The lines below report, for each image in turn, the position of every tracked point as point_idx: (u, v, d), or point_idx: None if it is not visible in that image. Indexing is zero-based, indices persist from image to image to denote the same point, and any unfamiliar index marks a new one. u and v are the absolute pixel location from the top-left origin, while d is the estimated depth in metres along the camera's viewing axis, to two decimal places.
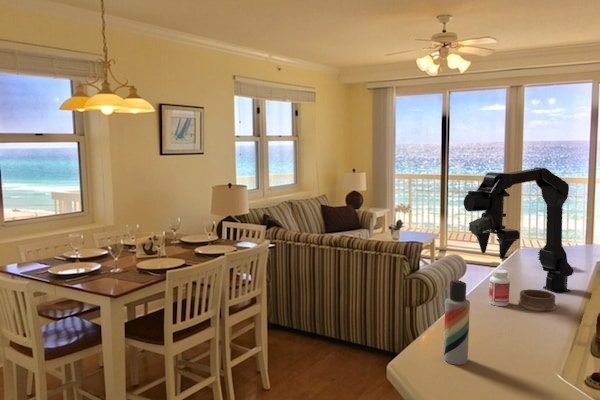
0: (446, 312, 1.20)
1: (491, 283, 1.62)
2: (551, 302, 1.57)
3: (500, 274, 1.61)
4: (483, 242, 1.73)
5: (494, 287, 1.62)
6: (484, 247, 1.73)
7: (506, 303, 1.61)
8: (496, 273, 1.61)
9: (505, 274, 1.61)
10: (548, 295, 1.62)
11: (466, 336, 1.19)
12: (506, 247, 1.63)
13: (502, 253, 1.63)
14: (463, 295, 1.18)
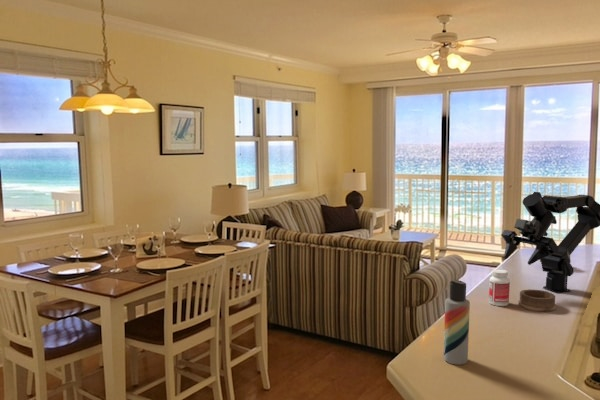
0: (446, 312, 1.20)
1: (491, 283, 1.62)
2: (551, 302, 1.57)
3: (500, 274, 1.61)
4: (510, 249, 1.71)
5: (494, 287, 1.62)
6: (508, 254, 1.71)
7: (506, 303, 1.61)
8: (496, 273, 1.61)
9: (505, 274, 1.61)
10: (548, 295, 1.62)
11: (466, 336, 1.19)
12: (538, 256, 1.63)
13: (533, 258, 1.62)
14: (463, 295, 1.18)
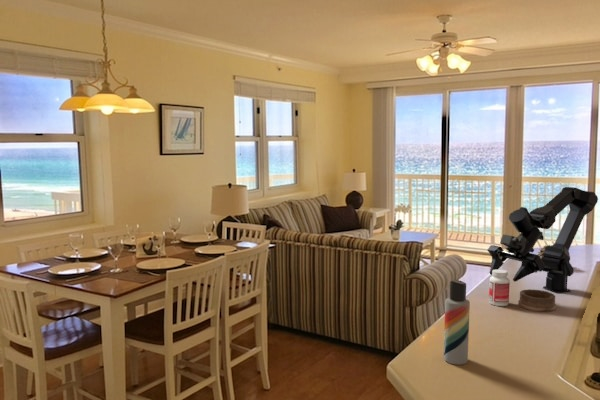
0: (446, 312, 1.20)
1: (491, 283, 1.62)
2: (551, 302, 1.57)
3: (500, 274, 1.61)
4: (496, 265, 1.69)
5: (494, 287, 1.62)
6: None
7: (506, 303, 1.61)
8: (496, 273, 1.61)
9: (505, 274, 1.61)
10: (548, 295, 1.62)
11: (466, 336, 1.19)
12: (524, 273, 1.60)
13: (518, 275, 1.59)
14: (463, 295, 1.18)
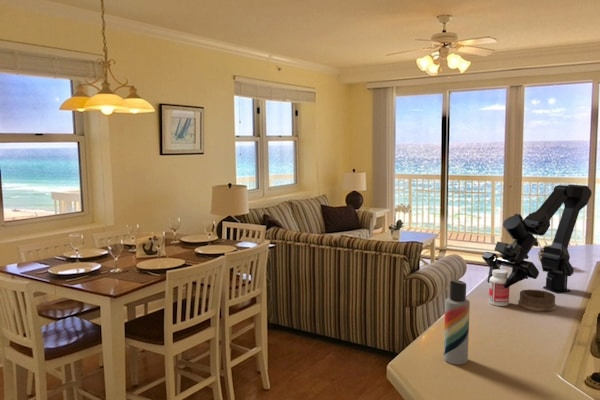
0: (446, 312, 1.20)
1: (491, 283, 1.62)
2: (551, 302, 1.57)
3: (500, 274, 1.61)
4: None
5: (493, 287, 1.62)
6: None
7: (506, 303, 1.61)
8: (496, 273, 1.61)
9: (505, 274, 1.61)
10: (548, 295, 1.62)
11: (466, 336, 1.19)
12: (515, 279, 1.60)
13: (509, 282, 1.59)
14: (463, 295, 1.18)
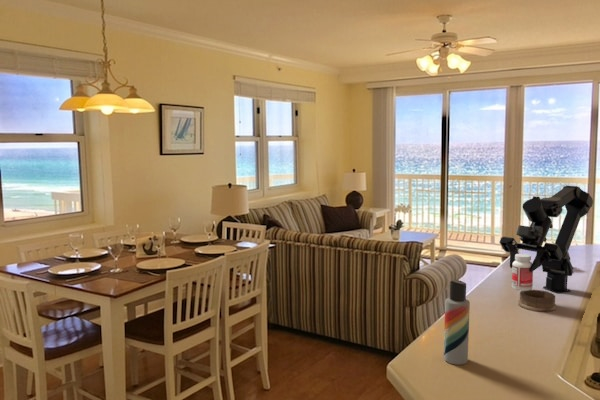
0: (446, 312, 1.20)
1: (516, 268, 1.59)
2: (551, 302, 1.57)
3: (525, 258, 1.58)
4: (514, 258, 1.64)
5: (519, 271, 1.59)
6: None
7: (531, 287, 1.59)
8: (521, 257, 1.58)
9: (529, 258, 1.58)
10: (548, 295, 1.62)
11: (466, 336, 1.19)
12: (539, 262, 1.58)
13: (534, 266, 1.57)
14: (463, 295, 1.18)
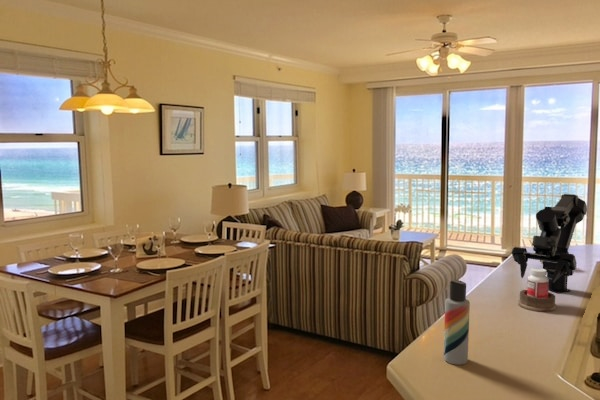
0: (446, 312, 1.20)
1: (533, 283, 1.59)
2: (551, 302, 1.57)
3: (542, 273, 1.58)
4: (524, 267, 1.64)
5: (536, 286, 1.58)
6: (523, 272, 1.63)
7: None
8: (538, 272, 1.58)
9: (546, 272, 1.59)
10: (548, 295, 1.62)
11: (466, 336, 1.19)
12: (559, 273, 1.58)
13: (556, 276, 1.56)
14: (463, 295, 1.18)
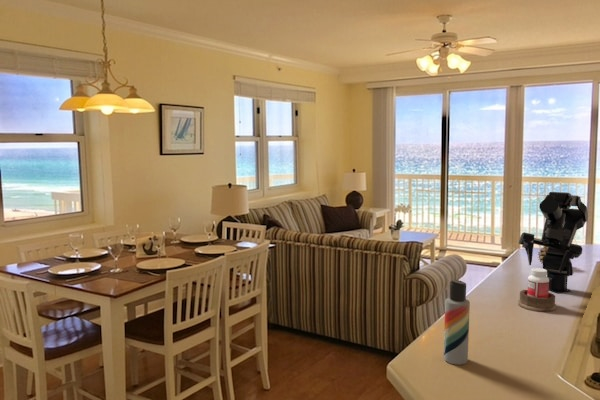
0: (446, 312, 1.20)
1: (533, 283, 1.59)
2: (551, 302, 1.57)
3: (542, 273, 1.58)
4: (531, 254, 1.68)
5: (536, 286, 1.58)
6: (531, 259, 1.68)
7: None
8: (538, 272, 1.58)
9: (546, 272, 1.59)
10: (548, 295, 1.62)
11: (466, 336, 1.19)
12: None
13: (563, 267, 1.64)
14: (463, 295, 1.18)
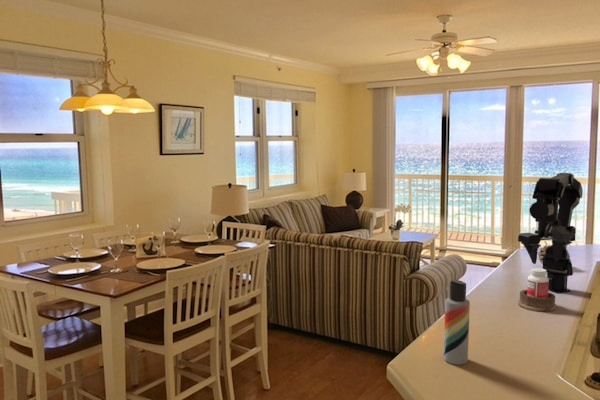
0: (446, 312, 1.20)
1: (533, 283, 1.59)
2: (551, 302, 1.57)
3: (542, 273, 1.58)
4: None
5: (536, 286, 1.58)
6: None
7: None
8: (538, 272, 1.58)
9: (546, 272, 1.59)
10: (548, 295, 1.62)
11: (466, 336, 1.19)
12: None
13: None
14: (463, 295, 1.18)
